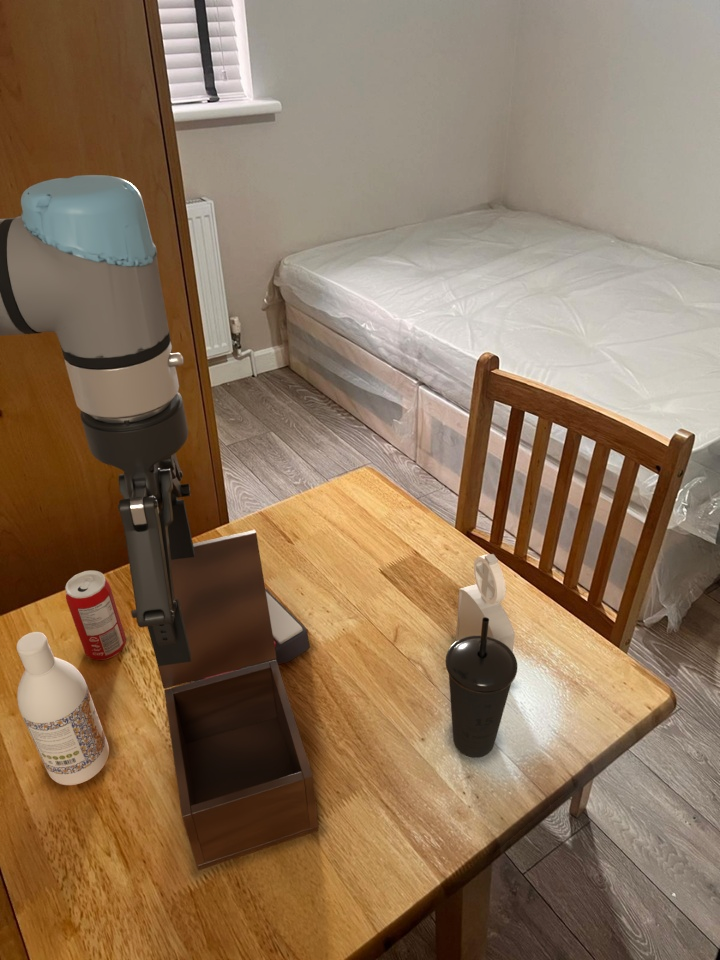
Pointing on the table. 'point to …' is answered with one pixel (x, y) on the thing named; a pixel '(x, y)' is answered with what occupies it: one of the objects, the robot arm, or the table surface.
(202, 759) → the chest
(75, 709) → the bath foam
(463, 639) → the drinking cup
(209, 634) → the chest lid
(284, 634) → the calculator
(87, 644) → the soda can
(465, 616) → the gravestone
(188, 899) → the table surface
